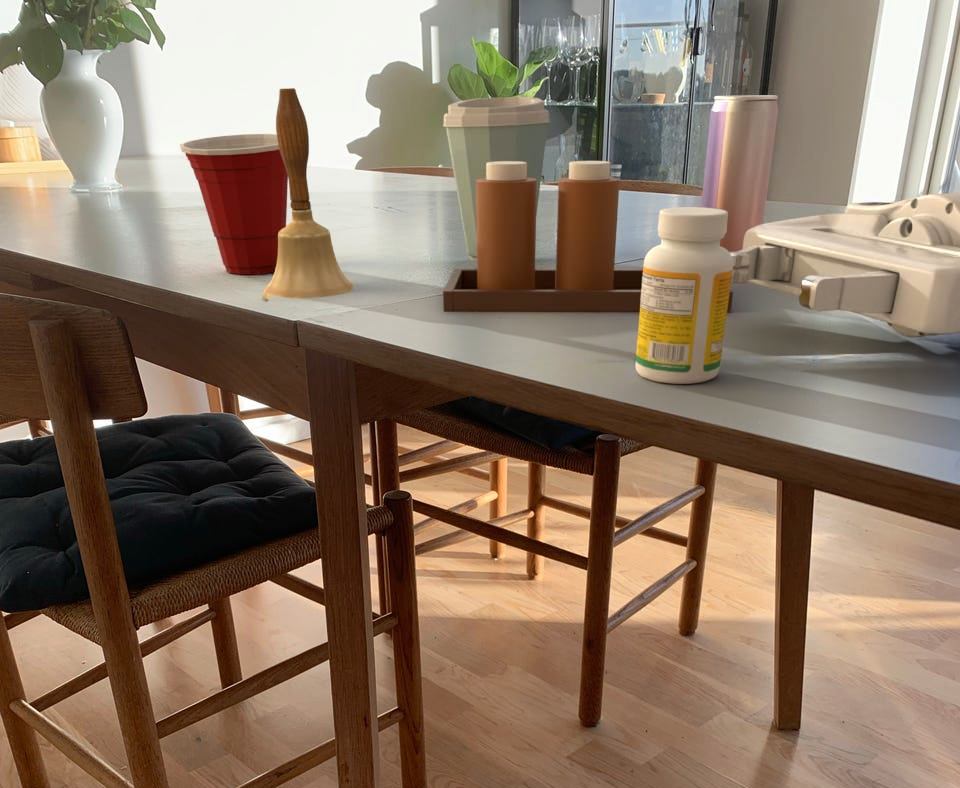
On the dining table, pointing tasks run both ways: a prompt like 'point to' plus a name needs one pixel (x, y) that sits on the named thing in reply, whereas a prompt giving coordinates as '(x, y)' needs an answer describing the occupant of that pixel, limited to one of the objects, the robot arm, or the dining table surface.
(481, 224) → the far amber bottle
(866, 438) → the dining table surface
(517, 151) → the disposable coffee cup
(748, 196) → the beverage can
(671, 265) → the supplement bottle
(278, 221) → the plastic cup
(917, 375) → the dining table surface
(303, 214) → the hand bell
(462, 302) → the tray
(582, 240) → the amber bottle
